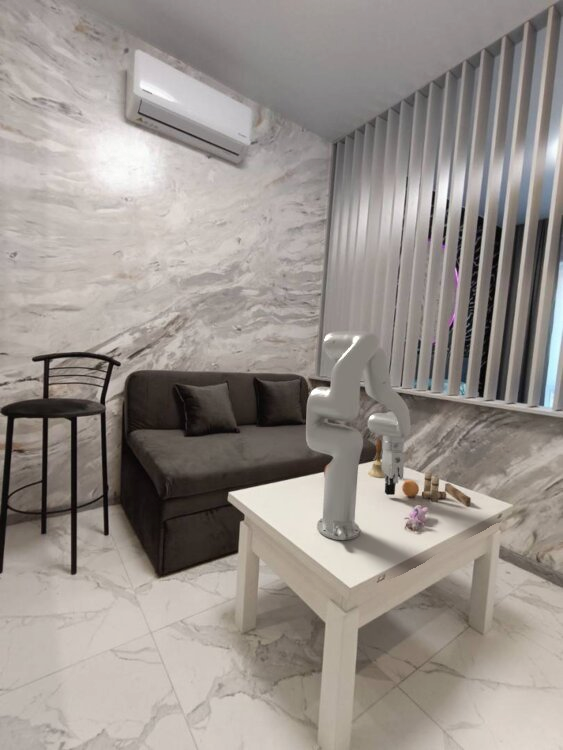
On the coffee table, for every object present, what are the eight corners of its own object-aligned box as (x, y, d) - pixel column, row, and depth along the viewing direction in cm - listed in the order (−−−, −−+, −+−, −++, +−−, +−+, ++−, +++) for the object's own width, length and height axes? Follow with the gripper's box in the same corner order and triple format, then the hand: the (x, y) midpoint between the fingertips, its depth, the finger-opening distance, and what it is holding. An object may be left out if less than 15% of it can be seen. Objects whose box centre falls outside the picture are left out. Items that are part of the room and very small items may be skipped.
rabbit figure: (419, 539, 106) (433, 514, 117) (420, 521, 105) (434, 498, 116) (399, 532, 110) (414, 508, 121) (399, 514, 108) (414, 492, 120)
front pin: (424, 499, 132) (446, 499, 133) (425, 493, 132) (446, 493, 132) (421, 496, 134) (442, 496, 135) (421, 490, 134) (443, 490, 135)
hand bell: (378, 479, 151) (380, 442, 150) (364, 473, 158) (366, 438, 157) (391, 476, 155) (393, 440, 154) (377, 470, 162) (379, 436, 161)
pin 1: (431, 496, 135) (433, 474, 134) (425, 496, 135) (427, 474, 134) (428, 493, 137) (429, 472, 137) (422, 493, 137) (423, 472, 137)
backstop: (470, 506, 128) (470, 498, 127) (466, 506, 127) (466, 498, 127) (448, 490, 141) (449, 483, 141) (444, 490, 141) (445, 483, 141)
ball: (409, 478, 132) (405, 494, 130) (423, 483, 132) (420, 499, 131) (401, 477, 138) (397, 492, 136) (414, 482, 138) (411, 498, 136)
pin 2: (438, 502, 130) (440, 479, 129) (432, 502, 130) (434, 479, 129) (435, 499, 132) (437, 477, 132) (428, 499, 132) (430, 477, 132)
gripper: (411, 451, 124) (408, 502, 125) (394, 440, 138) (391, 486, 140) (391, 451, 123) (387, 502, 124) (375, 440, 138) (373, 486, 139)
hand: (389, 493), depth 132 cm, fingers closed
